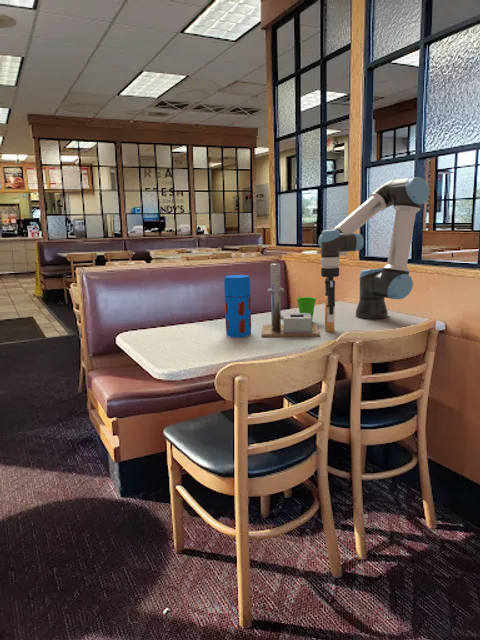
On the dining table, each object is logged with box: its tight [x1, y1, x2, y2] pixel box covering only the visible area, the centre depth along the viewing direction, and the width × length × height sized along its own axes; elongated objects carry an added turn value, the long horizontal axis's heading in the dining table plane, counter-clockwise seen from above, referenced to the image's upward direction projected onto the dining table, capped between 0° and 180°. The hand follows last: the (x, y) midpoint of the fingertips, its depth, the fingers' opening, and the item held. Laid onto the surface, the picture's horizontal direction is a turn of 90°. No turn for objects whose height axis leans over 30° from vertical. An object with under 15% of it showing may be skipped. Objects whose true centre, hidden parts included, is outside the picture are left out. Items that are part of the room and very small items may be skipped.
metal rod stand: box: [261, 263, 321, 338], centre depth 208 cm, size 24×18×29 cm
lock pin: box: [324, 296, 336, 333], centre depth 208 cm, size 4×4×15 cm
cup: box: [296, 296, 317, 319], centre depth 228 cm, size 9×9×11 cm
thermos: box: [223, 274, 252, 338], centre depth 206 cm, size 11×11×25 cm
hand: (329, 319), depth 209 cm, fingers open, 9 cm apart
